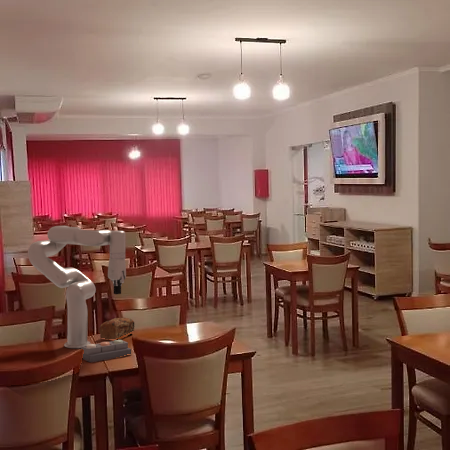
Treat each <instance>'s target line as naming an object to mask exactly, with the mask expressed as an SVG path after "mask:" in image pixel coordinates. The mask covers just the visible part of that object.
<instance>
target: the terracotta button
mask: <svg viewBox="0 0 450 450" xmlns="http://www.w3.org/2000/svg"><path fill="white" fill-rule="evenodd" d="M109 342H110V341H102V342H100V345H101V346H107V345H110V343H109Z"/></svg>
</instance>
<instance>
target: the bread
mask: <svg viewBox="0 0 450 450" xmlns="http://www.w3.org/2000/svg"><path fill="white" fill-rule="evenodd" d="M132 331H134V332H135V321H134V320H133V319H131V318H128V317H115V318H112V319H109V320H106V321H104V322H103V323H101V324H100V326H99V335H100V339H101V338H105V339H116V338H119V337H121V336H123V335H126V334H128V333H130V332H132Z"/></svg>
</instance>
